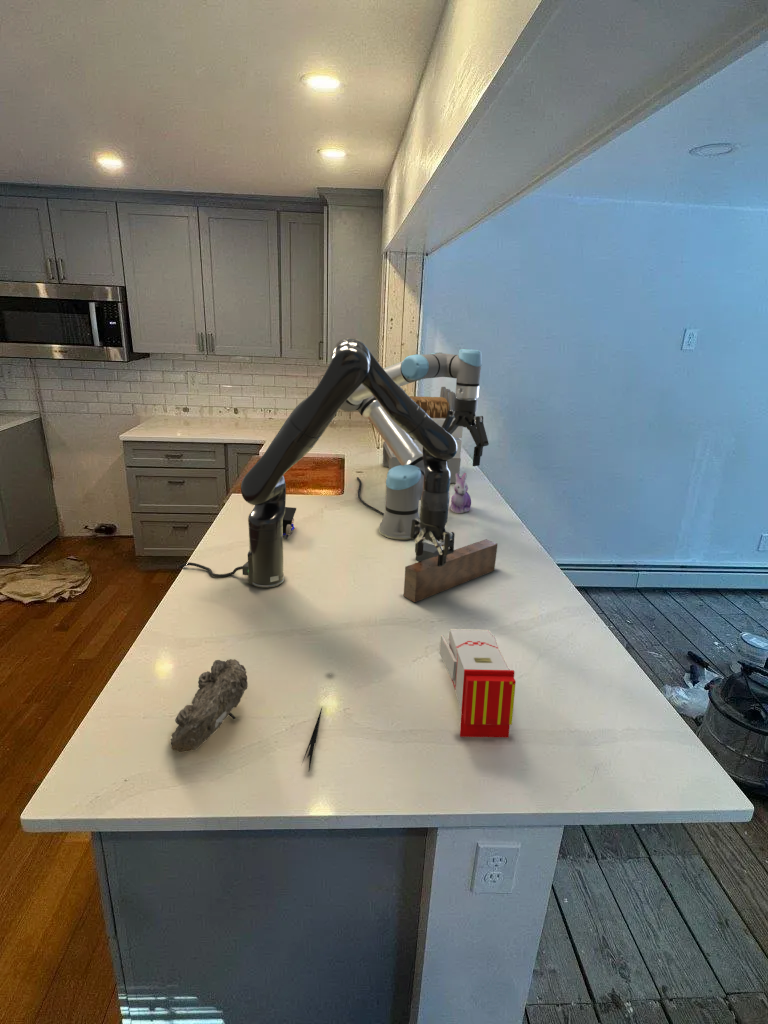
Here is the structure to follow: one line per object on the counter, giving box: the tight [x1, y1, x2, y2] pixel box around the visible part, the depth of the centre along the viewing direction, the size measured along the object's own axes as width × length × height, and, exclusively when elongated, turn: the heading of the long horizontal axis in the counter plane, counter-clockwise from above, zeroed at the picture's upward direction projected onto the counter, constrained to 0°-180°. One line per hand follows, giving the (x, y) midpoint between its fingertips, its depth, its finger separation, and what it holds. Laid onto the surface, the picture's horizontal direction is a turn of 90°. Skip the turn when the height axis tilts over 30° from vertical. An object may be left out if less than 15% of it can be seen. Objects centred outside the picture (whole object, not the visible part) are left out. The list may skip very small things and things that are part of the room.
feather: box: [301, 673, 332, 771], centre depth 108 cm, size 2×28×2 cm
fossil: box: [170, 658, 249, 753], centre depth 106 cm, size 22×10×15 cm
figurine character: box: [283, 506, 297, 540], centre depth 194 cm, size 7×8×15 cm
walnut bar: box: [403, 538, 498, 603], centre depth 164 cm, size 34×4×9 cm, turn 131°
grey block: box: [415, 542, 439, 562], centre depth 180 cm, size 6×6×4 cm
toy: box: [438, 628, 517, 738], centre depth 117 cm, size 12×13×30 cm
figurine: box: [449, 472, 472, 514], centre depth 224 cm, size 9×10×15 cm
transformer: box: [381, 386, 464, 484], centre depth 268 cm, size 34×33×41 cm
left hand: (429, 560), depth 157 cm, fingers open, 8 cm apart
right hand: (460, 461), depth 193 cm, fingers open, 13 cm apart
